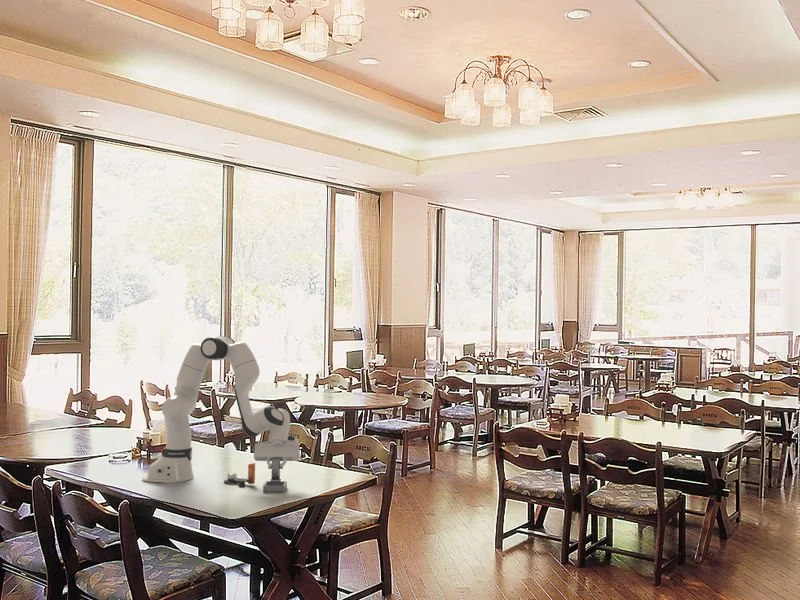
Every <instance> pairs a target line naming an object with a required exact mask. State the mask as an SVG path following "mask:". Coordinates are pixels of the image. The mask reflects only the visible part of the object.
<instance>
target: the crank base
mask: <svg viewBox="0 0 800 600" xmlns="http://www.w3.org/2000/svg"><path fill="white" fill-rule="evenodd" d="M223 483H224V484H225V485H237V484H239V481H237V480H236V481H228V480H227V479H224V480H223Z"/></svg>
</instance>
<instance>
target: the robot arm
mask: <svg viewBox="0 0 800 600" xmlns="http://www.w3.org/2000/svg"><path fill="white" fill-rule="evenodd" d="M223 360H227V361H229V363H230V366H231V367H232V370H233V374H234V380H235V381H234V385H233V392H234V396H235V399H236V403H237V407H238V411H239V415H240V421H241V428H242V431H243V433H244V434H246V435H247V436H249V437H251V438H252V437H253V438H256V437H258V436H259V435H261V434H262V433H264V432H266V431H269V435H268V441H257V442H256V443H254V446H253V448H254V451H253V459H254V461H255V462H266V465H267V468H268V470H270V469H271V470H272V463H271V462H272V458H280V462H281V463H280V470H283V469H284V466H286V464H287V462H299V461H300V459H301V455H300V454H301V451H300V445H299V440H298V438H297V436H293V435H290V434H289V432H290V429H291V416H290V413H289V411H288V410H286V409H284V408H276V407H275V406H273V405H266V406H264V407H262V408H260V409H258V410H256V411H255V412H253V409H252V406H251V402H250V397H249V394H250V391H251V390H252V388H253V386H254V385H255V384H256V382H257V380H258V379H259V377H260V373H261V372H260V367H259V364H258V362H257V359H256V357H255V355H254V354H253V352H252V350H251V348H250V347H249V345H248V344H247V343H246V342H244V341H237V342H236V341H235V340H234V339H233V338H231V337H229V336H223V335H215V336H214V335H212V336H209V337H206V338H205V339H203V341H201V343H200V342H197V343H194V344H192V345H191V346H190V347H189V349H188V350H187V352H186V354H185V356H184V359H183V361H182V364H181V367H180V369H179V371H178V374H177V377H176V386H175V390H174V394H173V395H171V396H169V397H167V398H166V399H165V400H164V402H163V404H162V405H161V412H162V415H163V418H164V424H165V430H166V431H165V432H166V435H165V436H166V437H165V438H166V439H165V440H166V441H165V442H166V443H165V444H166V446H164V447H163V448H162V449H161V451H160V452H161V456H160V457H158V459H156V460H155V461H153V462H152V463H151V464H150V465H149V467H148V471H147V474H145V475H143V477H142V482H148V483H149V482H150V483H167V484H175V483H179V482H185V481H191V480H193V479H194V478H195V476H194V473H193V472H194V471H193V465H192V458H193V450H192V449H193V447H192V429H191V427H190V420H189V415H191V414H192V413H193V412H194V411H195V409H196V407H197V402H198V397H199V391H200V388H201V385H202V382H203V380H204V379H203V378H204V376H205V373H206V371H207V369H208V367H209V363H210V362H211V361H223Z"/></svg>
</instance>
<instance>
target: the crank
mask: <svg viewBox="0 0 800 600" xmlns="http://www.w3.org/2000/svg"><path fill="white" fill-rule="evenodd" d="M237 475H238V474H237V473H235V472H232V473H231V472H230V473H227V479H226V480H228V481H236V480H237V481H240V480H244V481H245V483H247V484H248V485H254V484H255V482H256V481H255V480H256V462H252V463H248V464H247V477H241V476H237Z"/></svg>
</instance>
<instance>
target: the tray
mask: <svg viewBox="0 0 800 600" xmlns="http://www.w3.org/2000/svg"><path fill="white" fill-rule="evenodd" d="M287 487H288V481H285V480H283V481H282V480H281V482H277V483H273V482H271V480H266V481H264V484H263V485H262V493H271V494H273V493H275V494H276V493H280V494H281V493H286V490H287Z"/></svg>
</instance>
